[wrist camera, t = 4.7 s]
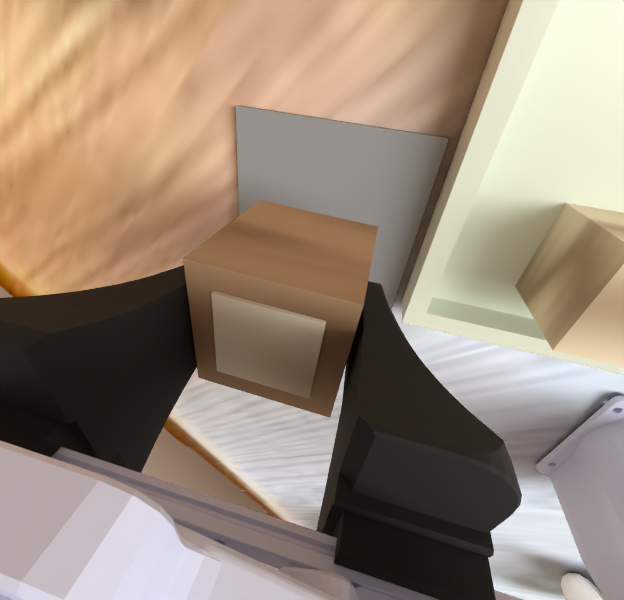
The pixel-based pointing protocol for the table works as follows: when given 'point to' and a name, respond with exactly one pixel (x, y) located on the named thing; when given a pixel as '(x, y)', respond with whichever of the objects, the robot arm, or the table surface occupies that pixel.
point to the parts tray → (524, 169)
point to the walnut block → (279, 302)
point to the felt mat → (341, 177)
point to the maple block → (580, 284)
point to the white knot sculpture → (579, 588)
